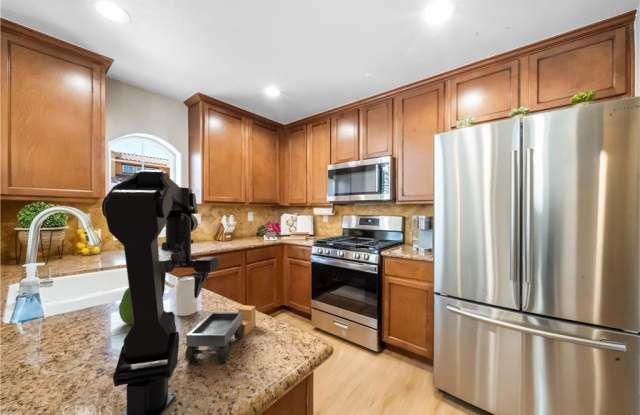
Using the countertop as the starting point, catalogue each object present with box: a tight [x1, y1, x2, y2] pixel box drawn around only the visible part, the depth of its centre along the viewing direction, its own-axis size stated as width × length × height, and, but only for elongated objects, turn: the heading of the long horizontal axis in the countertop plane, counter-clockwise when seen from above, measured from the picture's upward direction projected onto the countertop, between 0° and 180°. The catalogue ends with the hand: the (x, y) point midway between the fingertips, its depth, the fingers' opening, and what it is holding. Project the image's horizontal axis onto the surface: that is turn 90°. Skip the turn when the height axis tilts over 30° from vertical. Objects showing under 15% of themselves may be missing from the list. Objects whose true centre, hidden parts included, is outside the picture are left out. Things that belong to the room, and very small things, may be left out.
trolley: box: [184, 311, 244, 363], centre depth 66 cm, size 14×9×7 cm, turn 179°
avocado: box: [118, 287, 133, 325], centre depth 81 cm, size 8×8×12 cm
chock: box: [237, 305, 257, 336], centre depth 77 cm, size 6×4×6 cm, turn 166°
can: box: [175, 275, 198, 317], centre depth 89 cm, size 6×6×12 cm
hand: (178, 297), depth 67 cm, fingers open, 9 cm apart
